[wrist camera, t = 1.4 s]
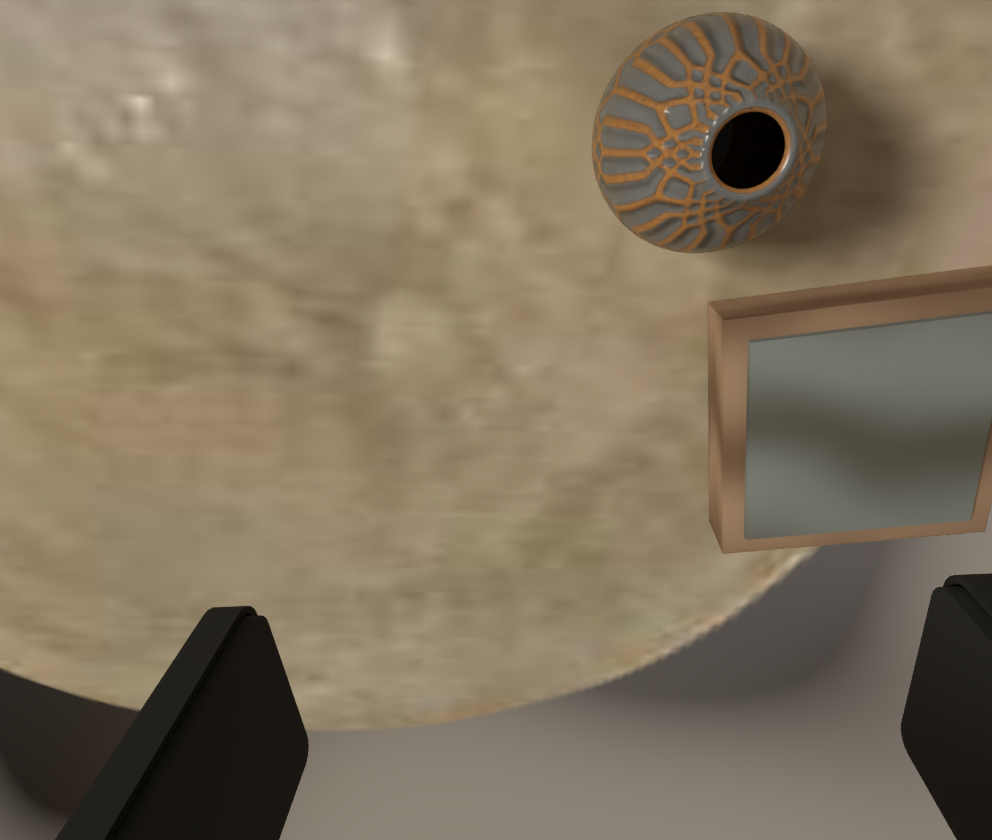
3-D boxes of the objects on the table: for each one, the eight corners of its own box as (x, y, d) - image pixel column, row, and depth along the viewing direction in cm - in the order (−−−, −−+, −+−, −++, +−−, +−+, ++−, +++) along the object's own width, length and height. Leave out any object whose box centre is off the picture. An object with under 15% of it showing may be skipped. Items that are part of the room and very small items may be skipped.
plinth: (707, 302, 26) (726, 322, 24) (995, 265, 25) (1046, 282, 23) (709, 521, 31) (724, 557, 29) (951, 499, 30) (989, 535, 27)
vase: (644, -12, 22) (706, -76, 14) (815, 82, 23) (962, 72, 15) (553, 184, 25) (562, 221, 17) (707, 259, 26) (783, 329, 18)
